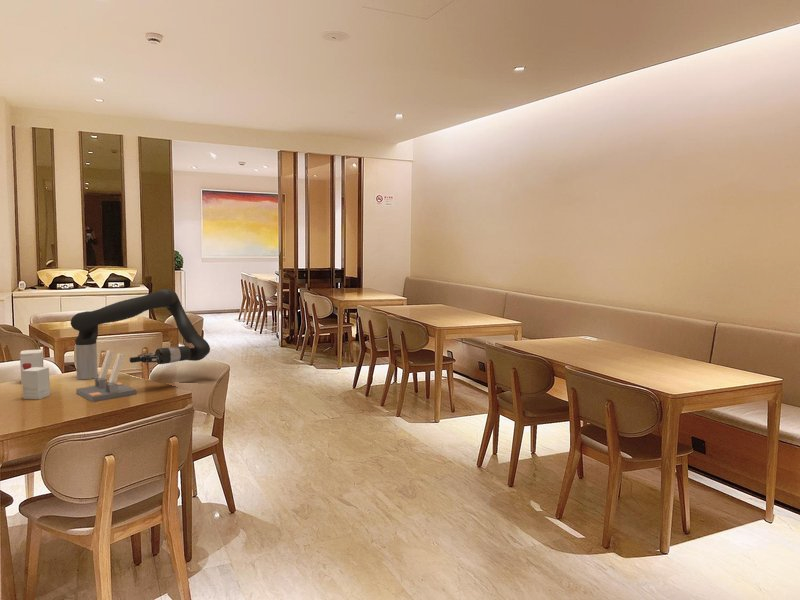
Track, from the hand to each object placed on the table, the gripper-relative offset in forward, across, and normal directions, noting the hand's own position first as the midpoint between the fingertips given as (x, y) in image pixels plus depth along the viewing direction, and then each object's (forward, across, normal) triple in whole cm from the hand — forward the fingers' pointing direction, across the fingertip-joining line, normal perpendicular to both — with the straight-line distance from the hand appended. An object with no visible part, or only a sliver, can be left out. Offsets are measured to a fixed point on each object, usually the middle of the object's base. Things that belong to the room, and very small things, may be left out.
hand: (130, 360), depth 247 cm
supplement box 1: (+24, -55, +16) cm, 62 cm away
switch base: (+8, -6, +15) cm, 18 cm away
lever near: (+9, 0, +11) cm, 14 cm away
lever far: (+9, -12, +11) cm, 18 cm away
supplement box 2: (+31, -21, +15) cm, 41 cm away
